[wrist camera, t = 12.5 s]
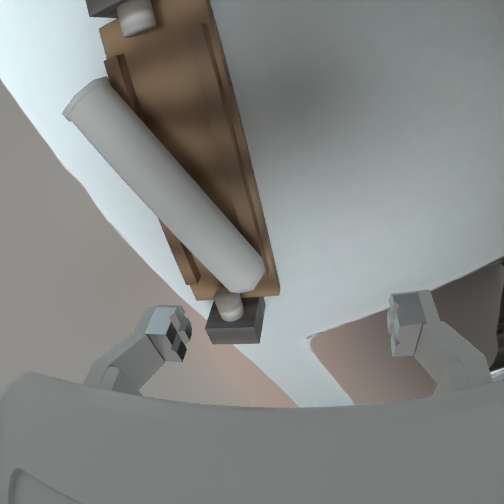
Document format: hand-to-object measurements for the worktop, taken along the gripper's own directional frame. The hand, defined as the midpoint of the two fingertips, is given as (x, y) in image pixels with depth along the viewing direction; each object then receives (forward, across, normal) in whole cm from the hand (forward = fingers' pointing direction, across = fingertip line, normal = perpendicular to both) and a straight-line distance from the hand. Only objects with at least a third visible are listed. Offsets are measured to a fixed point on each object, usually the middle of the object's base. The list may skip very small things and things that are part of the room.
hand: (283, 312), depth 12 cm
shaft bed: (+22, +10, +1) cm, 24 cm away
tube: (+19, +12, +2) cm, 22 cm away
